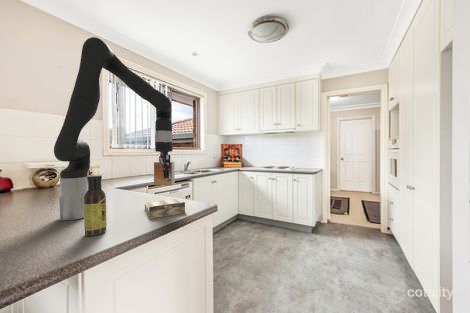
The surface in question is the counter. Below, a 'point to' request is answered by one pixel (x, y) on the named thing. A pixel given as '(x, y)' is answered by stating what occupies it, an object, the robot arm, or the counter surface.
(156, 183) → the small box
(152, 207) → the brown patterned flat box
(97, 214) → the sauce bottle
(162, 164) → the robot arm
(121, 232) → the counter surface
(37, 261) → the counter surface
